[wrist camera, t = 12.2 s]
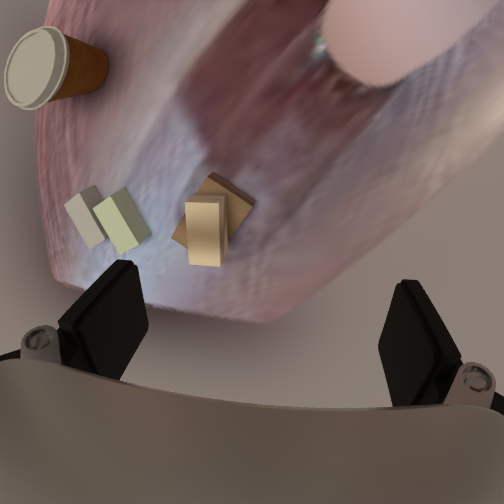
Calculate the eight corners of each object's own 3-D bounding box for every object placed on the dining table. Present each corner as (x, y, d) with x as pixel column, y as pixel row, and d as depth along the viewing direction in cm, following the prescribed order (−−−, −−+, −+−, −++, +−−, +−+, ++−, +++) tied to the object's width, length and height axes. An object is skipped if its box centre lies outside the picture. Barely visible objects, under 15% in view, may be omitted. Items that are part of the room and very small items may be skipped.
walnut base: (213, 171, 36) (207, 176, 33) (255, 199, 37) (252, 206, 34) (178, 228, 39) (170, 237, 37) (217, 253, 40) (211, 264, 38)
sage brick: (108, 199, 38) (92, 208, 35) (125, 187, 37) (110, 195, 34) (133, 242, 41) (120, 254, 37) (151, 232, 40) (139, 244, 36)
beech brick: (196, 192, 34) (184, 202, 30) (226, 193, 34) (218, 203, 30) (199, 249, 37) (189, 264, 33) (227, 250, 36) (220, 266, 33)
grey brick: (80, 196, 39) (64, 204, 35) (95, 184, 38) (79, 192, 34) (103, 237, 41) (89, 248, 37) (119, 227, 40) (105, 239, 36)
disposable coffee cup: (131, 46, 29) (72, 30, 18) (102, 113, 33) (39, 122, 22) (80, 32, 28) (20, 20, 17) (55, 93, 32) (-7, 99, 21)
